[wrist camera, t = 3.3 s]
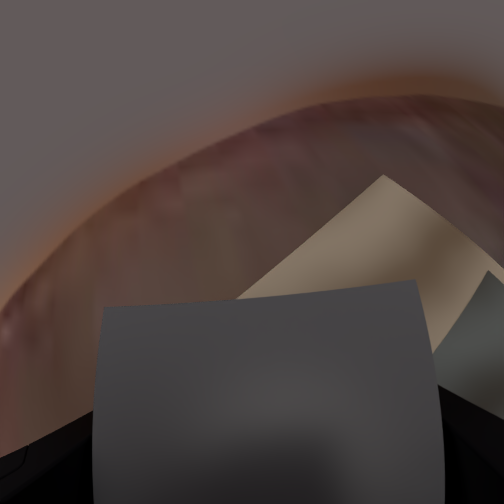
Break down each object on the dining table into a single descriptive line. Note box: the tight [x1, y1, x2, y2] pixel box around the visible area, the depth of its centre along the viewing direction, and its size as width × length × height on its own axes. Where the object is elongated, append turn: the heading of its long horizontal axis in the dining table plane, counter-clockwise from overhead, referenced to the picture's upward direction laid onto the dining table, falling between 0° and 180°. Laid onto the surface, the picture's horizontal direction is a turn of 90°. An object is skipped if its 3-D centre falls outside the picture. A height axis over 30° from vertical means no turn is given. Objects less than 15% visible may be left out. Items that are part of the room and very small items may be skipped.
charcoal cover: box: [92, 279, 445, 504], centre depth 8 cm, size 7×7×9 cm
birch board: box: [237, 175, 504, 419], centre depth 11 cm, size 22×22×1 cm
